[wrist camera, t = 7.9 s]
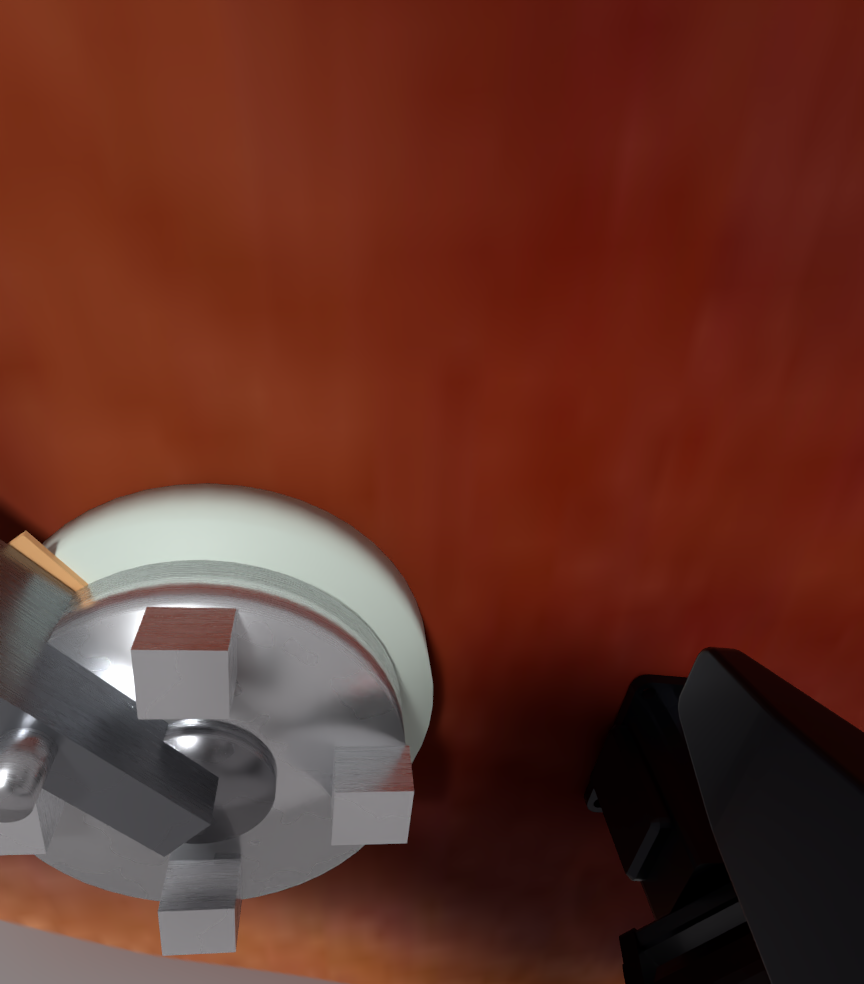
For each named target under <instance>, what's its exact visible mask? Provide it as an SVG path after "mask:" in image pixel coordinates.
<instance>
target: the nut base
mask: <svg viewBox="0 0 864 984" xmlns="http://www.w3.org/2000/svg"><path fill="white" fill-rule="evenodd" d="M7 544H8V545H9V546H11V547H12V548H14V549H15V550H16V551H18V552H19V553H21V554H22V555H23V556H25V557H26V558H28V559H29V560H31V561H32V562H33V563H35V564H36V565H38V566H39V567H40V568H42V569H43V570H45V571H46V572H47V573H49V574H50V575H52V576H53V577H54V578H56V579H57V580H59V581H60V582H61V583H63V584H64V585H66V586H67V587H68V588H70V589H71V590H73V591H74V592H75V591H77V590H79V589H81V588H83V587H84V586H86V585H88V584H90V583H92V582H94V581H96V580H99V579H101V578H104V577H107V576H109V575H112V574H115V573H117V572H120V571H123V570H127V569H131V568H135V567H139V566H143V565H147V564H155V563H162V562H170V561H180V560H214V561H226V562H236V563H241V564H247V565H252V566H257V567H263V568H266V569H269V570H272V571H276V572H279V573H282V574H286V575H289V576H291V577H294V578H296V579H298V580H301V581H303V582H305V583H307V584H310V585H312V586H314V587H316V588H318V589H319V590H321V591H323V592H325V593H326V594H328V595H330V596H331V597H333V598H335V599H336V600H338V601H339V602H340V603H342V604H343V605H344V606H346V607H347V608H348V609H350V610H351V611H352V612H353V613H355V614H356V615H357V616H358V617H359V618H360V619H361V620H362V621H363V622H364V623H365V624H366V625H367V626H368V627H369V628H370V629H371V631H372V632H373V633H374V635H375V636H376V637H377V639H378V640H379V641H380V643H381V644H382V645H383V647H384V649H385V651H386V653H387V655H388V656H389V658H390V660H391V662H392V664H393V667H394V670H395V673H396V676H397V679H398V683H399V690H400V697H401V705H402V714H403V724H404V734H405V743H406V745H409V748H410V757H411V764H412V762H413V760H414V758H415V757H416V755H417V753H418V751H419V749H420V748H421V746H422V743H423V741H424V738H425V735H426V732H427V730H428V727H429V723H430V717H431V712H432V707H433V681H432V675H431V668H430V662H429V656H428V650H427V644H426V638H425V631H424V625H423V620H422V617H421V614H420V611H419V608H418V605H417V602H416V599H415V597H414V596H413V594H412V592H411V590H410V588H409V586H408V584H407V582H406V580H405V579H404V577H403V576H402V575H401V573H400V572H399V571H398V569H397V568H396V567H395V565H394V564H393V563H392V561H391V560H390V559H389V558H388V557H387V556H386V555H385V554H384V553H383V552H382V551H381V550H380V549H379V548H378V547H377V546H376V545H375V544H374V543H373V542H372V541H371V540H369V539H368V538H367V537H365V536H364V535H363V534H362V533H360V532H359V531H358V530H356V529H355V528H354V527H352V526H351V525H349V524H348V523H346V522H344V521H342V520H341V519H339V518H337V517H336V516H334V515H332V514H330V513H329V512H327V511H325V510H322V509H320V508H318V507H315V506H313V505H311V504H308V503H306V502H304V501H301V500H299V499H295V498H292V497H289V496H285V495H282V494H279V493H275V492H272V491H267V490H262V489H256V488H251V487H245V486H239V485H225V484H210V483H207V484H184V485H173V486H167V487H160V488H154V489H148V490H144V491H140V492H137V493H133V494H130V495H126V496H123V497H119V498H116V499H114V500H111V501H109V502H107V503H104V504H102V505H100V506H97V507H95V508H93V509H90V510H88V511H87V512H85V513H83V514H82V515H80V516H78V517H77V518H75V519H73V520H72V521H70V522H68V523H67V524H65V525H64V526H63V527H61V528H60V529H59V530H58V531H57V532H55V533H54V534H53V535H52V536H50V537H49V538H48V539H47V540H46V541H44V542H43V544H41V543H40V542H39V541H38V540H37V539H35V538H34V537H33V536H32V535H31V534H30V533H28V532H27V531H24V532H23V533H22V534H20V535H19V536H17V537H16V538H14V539H13V540H12V541H10V542H9V543H7Z"/></svg>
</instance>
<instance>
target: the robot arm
mask: <svg viewBox="0 0 864 984" xmlns="http://www.w3.org/2000/svg"><path fill="white" fill-rule="evenodd" d="M647 688H649V689H648V690H646V691H644V690H645V689H647ZM590 779H591V780H590V782H589V784H588V787H587V789H586V791H585V794H584V799H585V802H586V804H587V807H588V809H589V810H591V811H593V812H603V814H604V817H605V820H606V822H607V825H608V828H609V830H610V833H611V836H612V839H613V841H614V844H615V847H616V849H617V852H618V855H619V857H620V860H621V863H622V866H623V868H624V871H625V873H626V874H627V876H628V877H629V878H630V880H632V881H641V884H642V887H643V889H644V892H645V894H646V897H647V900H648V902H649V905H650V907H651V910H652V913H653V915H654V918H655V920H656V921H654V922H652V923H650V924H648V925H646V926H644V927H642V928H640V929H639V930H636V929H635V928H633V929H631V930H630V931H628V932H626V933H624V934H622V935H620V936H619V940H620V946H621V951H622V957H623V963H624V964H623V973H624V978H625V984H864V732H862V731H861V730H859V729H858V728H856V727H855V726H853V725H852V724H850V723H849V722H847V721H846V720H844V719H843V718H841V717H840V716H838V715H837V714H835V713H834V712H832V711H830V710H829V709H827V708H826V707H824V706H823V705H821V704H820V703H818V702H817V701H815V700H814V699H812V698H811V697H809V696H808V695H806V694H805V693H803V692H802V691H800V690H799V689H797V688H796V687H794V686H793V685H791V684H790V683H788V682H787V681H785V680H783V679H782V678H780V677H779V676H777V675H776V674H774V673H773V672H771V671H770V670H768V669H767V668H765V667H764V666H762V665H761V664H759V663H758V662H756V661H755V660H753V659H752V658H750V657H749V656H747V655H746V654H744V653H743V652H741V651H739V650H736V649H730V648H717V647H708V648H705V649H703V650H702V651H701V652H700V653H699V655H698V656H697V658H696V661H695V663H694V665H693V667H692V670H691V672H690V674H689V676H688V678H684V677H673V676H661V675H642V676H639V677H638V678H636V679H635V680H634V681H633V682H632V684H631V686H630V688H629V691H628V693H627V695H626V698H625V700H624V702H623V705H622V707H621V709H620V712H619V714H618V716H617V719H616V721H615V723H614V726H613V727H612V729H611V730H610V731H609V733H608V736H607V738H606V740H605V743H604V745H603V747H602V750H601V752H600V755H599V757H598V759H597V762H596V764H595V766H594V769H593V771H592V773H591V776H590Z"/></svg>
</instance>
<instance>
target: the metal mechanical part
mask: <svg viewBox="0 0 864 984" xmlns="http://www.w3.org/2000/svg"><path fill="white" fill-rule="evenodd" d="M413 797H414V785H413V775H412V766H411V757H410V748H409V745H406V743H405V734H404V724H403V714H402V705H401V697H400V690H399V683H398V679H397V676H396V673H395V670H394V667H393V664H392V662H391V660H390V658H389V656H388V655H387V653H386V651H385V649H384V647H383V645H382V644H381V643H380V641H379V640H378V639H377V637H376V636H375V635H374V633H373V632H372V631H371V629H370V628H369V627H368V626H367V625H366V624H365V623H364V622H363V621H362V620H361V619H360V618H359V617H358V616H357V615H356V614H355V613H353V612H352V611H351V610H350V609H348V608H347V607H346V606H344V605H343V604H342V603H340V602H339V601H338V600H336V599H335V598H333V597H331V596H330V595H328V594H326V593H325V592H323V591H321V590H319V589H318V588H316V587H314V586H312V585H310V584H307V583H305V582H303V581H301V580H298V579H296V578H294V577H291V576H289V575H286V574H282V573H279V572H276V571H272V570H269V569H266V568H263V567H257V566H252V565H247V564H241V563H236V562H226V561H214V560H180V561H170V562H162V563H155V564H147V565H143V566H139V567H135V568H131V569H127V570H123V571H120V572H117V573H115V574H112V575H109V576H107V577H104V578H101V579H99V580H96V581H94V582H92V583H90V584H88V585H86V586H84V587H83V588H81V589H79V590H77V591H75V592H74V591H73V590H71V589H70V588H68V587H67V586H66V585H64V584H63V583H61V582H60V581H59V580H57V579H56V578H54V577H53V576H52V575H50V574H49V573H47V572H46V571H45V570H43V569H42V568H40V567H39V566H38V565H36V564H35V563H33V562H32V561H31V560H29V559H28V558H26V557H25V556H23V555H22V554H21V553H19V552H18V551H16V550H15V549H14V548H12V547H11V546H9V545H8V544H7V543H5V542H4V541H2V540H1V539H0V855H25V854H34V855H35V856H37V857H38V858H39V859H41V860H42V861H44V862H45V863H47V864H49V865H50V866H52V867H54V868H56V869H57V870H59V871H61V872H63V873H65V874H67V875H69V876H71V877H73V878H76V879H78V880H80V881H82V882H85V883H87V884H90V885H93V886H96V887H99V888H102V889H105V890H108V891H111V892H115V893H119V894H123V895H127V896H131V897H137V898H143V899H149V900H155V901H160V905H159V909H158V917H159V927H160V936H161V946H162V955H163V956H166V955H186V954H206V953H226V952H236V945H237V937H238V928H239V920H240V912H241V903H242V899H247V898H253V897H258V896H262V895H266V894H270V893H275V892H279V891H282V890H285V889H288V888H290V887H293V886H296V885H299V884H302V883H304V882H306V881H309V880H311V879H313V878H315V877H318V876H320V875H322V874H324V873H325V872H327V871H329V870H331V869H332V868H334V867H336V866H338V865H339V864H341V863H342V862H344V861H345V860H347V859H348V858H349V857H351V856H352V855H353V854H355V853H356V852H358V851H359V850H360V849H361V848H362V847H363V846H364V845H366V844H400V843H407V839H408V832H409V825H410V818H411V811H412V804H413Z"/></svg>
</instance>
